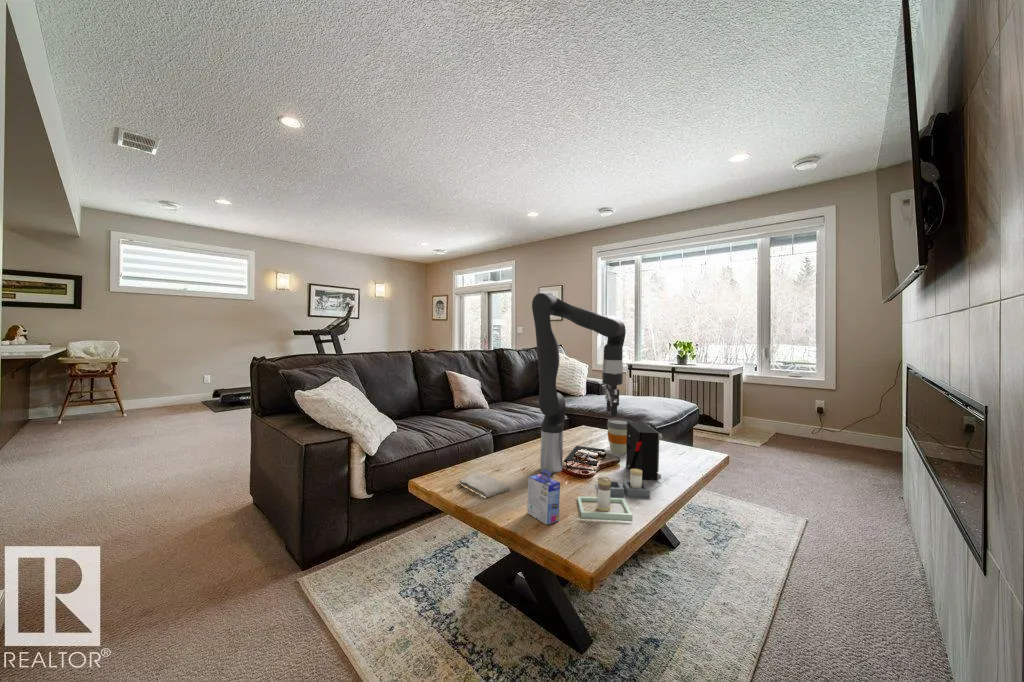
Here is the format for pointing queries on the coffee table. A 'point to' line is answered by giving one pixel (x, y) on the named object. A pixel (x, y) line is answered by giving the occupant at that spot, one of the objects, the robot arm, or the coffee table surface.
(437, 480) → the coffee table surface
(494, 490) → the washcloth
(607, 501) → the fuse
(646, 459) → the electrical component
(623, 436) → the reusable coffee cup
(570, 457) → the dark grey flat frame
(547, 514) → the ink cartridge box
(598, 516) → the pale green rectangular frame
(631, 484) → the fuse block
